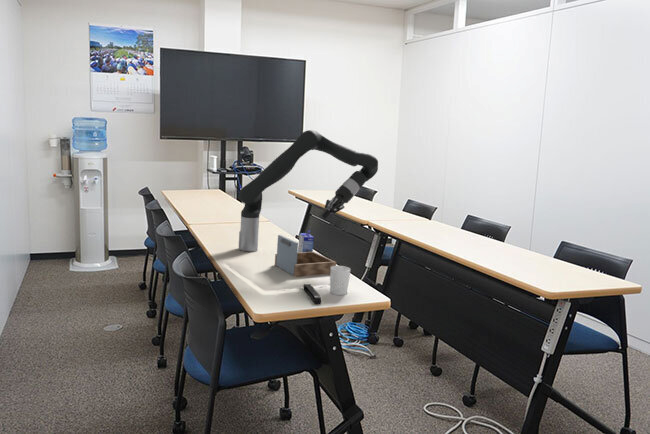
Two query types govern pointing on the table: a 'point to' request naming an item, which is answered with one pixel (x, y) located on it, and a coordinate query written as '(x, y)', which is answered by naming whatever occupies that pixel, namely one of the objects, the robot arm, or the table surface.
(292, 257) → the blue-grey flat rectangular panel
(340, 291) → the white cup
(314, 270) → the wooden tray
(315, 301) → the portable electronic device stand
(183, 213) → the table surface
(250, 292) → the table surface
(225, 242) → the table surface
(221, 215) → the table surface
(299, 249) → the ink cartridge box
